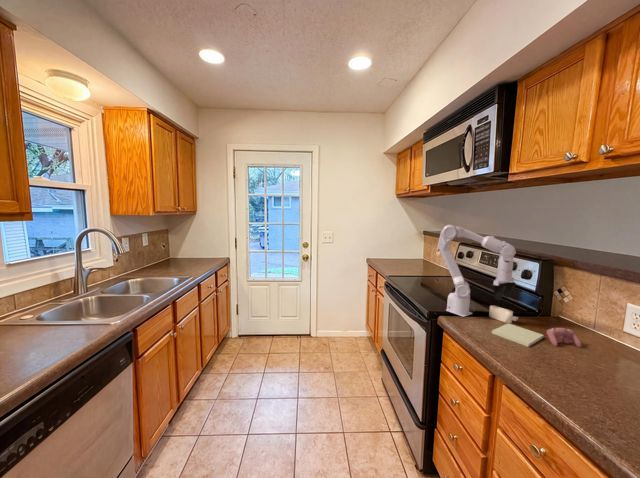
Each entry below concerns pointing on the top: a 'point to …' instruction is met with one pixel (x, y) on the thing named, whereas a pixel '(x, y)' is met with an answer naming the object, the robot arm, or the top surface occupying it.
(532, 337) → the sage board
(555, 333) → the pink toy car
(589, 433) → the top surface
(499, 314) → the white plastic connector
